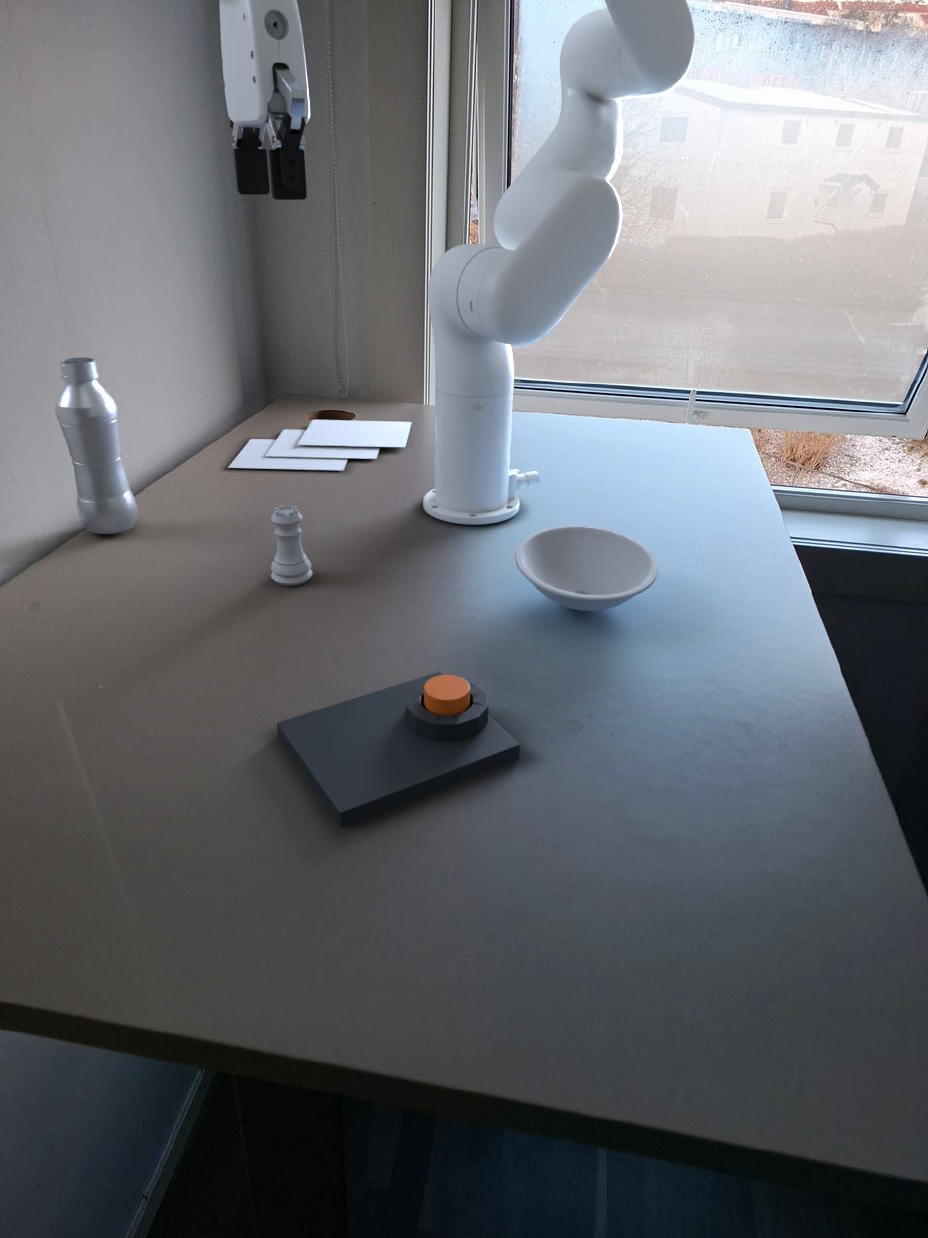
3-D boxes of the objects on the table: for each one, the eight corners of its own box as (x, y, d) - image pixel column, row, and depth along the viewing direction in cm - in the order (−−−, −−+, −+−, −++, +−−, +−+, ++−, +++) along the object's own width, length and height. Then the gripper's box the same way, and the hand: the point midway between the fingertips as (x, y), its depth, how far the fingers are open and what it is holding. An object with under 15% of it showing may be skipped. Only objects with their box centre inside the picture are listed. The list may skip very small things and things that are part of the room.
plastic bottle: (122, 543, 98) (88, 369, 88) (70, 537, 99) (30, 365, 90) (151, 522, 104) (121, 356, 94) (101, 517, 105) (67, 352, 95)
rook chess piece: (320, 572, 92) (315, 504, 88) (300, 590, 89) (294, 519, 85) (284, 566, 94) (278, 498, 90) (263, 583, 90) (255, 513, 86)
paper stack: (400, 471, 121) (400, 467, 121) (228, 467, 121) (227, 463, 121) (411, 425, 142) (411, 421, 141) (263, 422, 142) (263, 418, 141)
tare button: (454, 686, 69) (454, 669, 68) (478, 708, 66) (478, 691, 65) (416, 698, 67) (415, 682, 66) (438, 721, 64) (438, 705, 64)
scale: (443, 683, 74) (443, 654, 72) (522, 757, 65) (524, 726, 63) (277, 736, 67) (274, 705, 65) (341, 828, 58) (338, 795, 56)
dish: (666, 647, 80) (673, 600, 77) (515, 643, 80) (517, 596, 78) (637, 567, 95) (642, 526, 93) (510, 563, 95) (512, 522, 93)
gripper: (333, -35, 68) (344, 201, 76) (260, -8, 81) (276, 192, 89) (243, -47, 64) (264, 202, 73) (182, -16, 77) (206, 192, 86)
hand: (271, 196), depth 81 cm, fingers open, 9 cm apart
